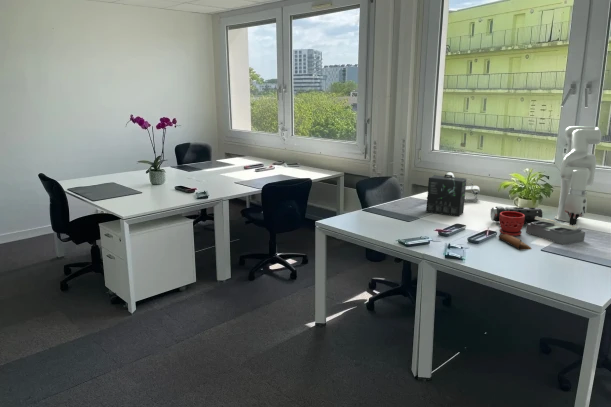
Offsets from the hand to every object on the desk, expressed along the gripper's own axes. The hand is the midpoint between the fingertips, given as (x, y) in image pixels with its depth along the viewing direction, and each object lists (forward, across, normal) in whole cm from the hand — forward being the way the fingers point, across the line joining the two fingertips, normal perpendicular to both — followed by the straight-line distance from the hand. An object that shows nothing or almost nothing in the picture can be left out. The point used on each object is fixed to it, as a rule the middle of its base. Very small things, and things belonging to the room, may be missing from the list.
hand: (572, 224), depth 248 cm
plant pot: (+8, +20, +24) cm, 32 cm away
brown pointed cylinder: (+9, +5, +35) cm, 37 cm away
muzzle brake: (+9, +35, +4) cm, 37 cm away
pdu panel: (+8, +8, +5) cm, 12 cm away
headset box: (+9, +73, +28) cm, 78 cm away
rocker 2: (0, 0, +5) cm, 5 cm away
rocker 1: (0, +13, +5) cm, 14 cm away
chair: (+9, +100, -9) cm, 100 cm away
